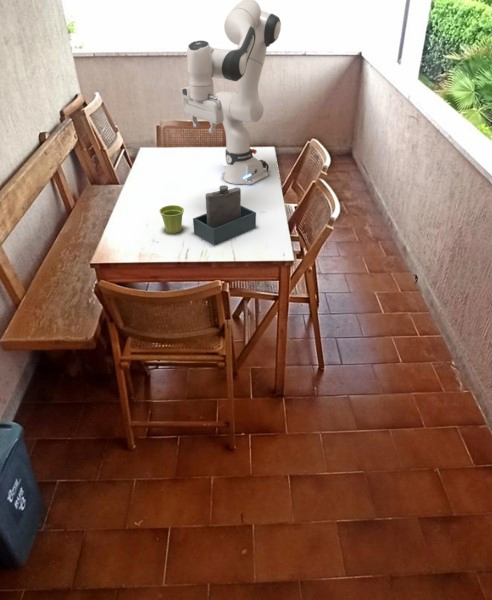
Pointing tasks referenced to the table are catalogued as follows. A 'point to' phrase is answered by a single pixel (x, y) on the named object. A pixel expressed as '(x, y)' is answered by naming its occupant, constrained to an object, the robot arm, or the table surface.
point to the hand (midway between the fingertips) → (204, 130)
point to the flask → (223, 206)
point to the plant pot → (172, 218)
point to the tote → (224, 227)
